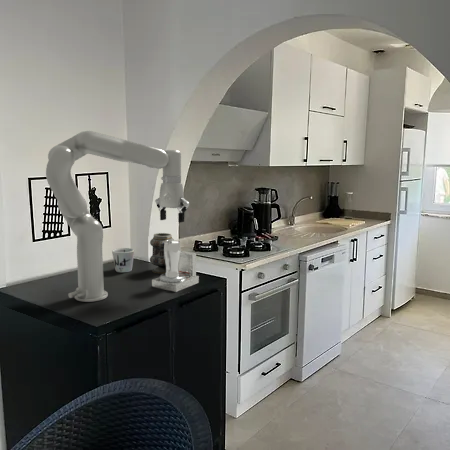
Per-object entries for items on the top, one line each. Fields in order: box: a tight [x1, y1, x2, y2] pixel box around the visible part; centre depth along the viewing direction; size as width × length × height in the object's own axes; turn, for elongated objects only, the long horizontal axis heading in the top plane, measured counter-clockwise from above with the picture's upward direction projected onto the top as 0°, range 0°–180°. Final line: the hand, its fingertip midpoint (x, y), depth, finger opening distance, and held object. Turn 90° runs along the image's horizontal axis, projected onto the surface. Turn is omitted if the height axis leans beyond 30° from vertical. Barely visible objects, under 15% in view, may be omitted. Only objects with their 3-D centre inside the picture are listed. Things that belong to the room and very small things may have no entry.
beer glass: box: [164, 239, 181, 278], centre depth 196 cm, size 7×7×15 cm
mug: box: [111, 247, 135, 273], centre depth 223 cm, size 10×15×10 cm
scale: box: [151, 250, 200, 293], centre depth 199 cm, size 16×13×13 cm
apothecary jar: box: [149, 232, 175, 275], centre depth 220 cm, size 12×12×18 cm
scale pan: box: [159, 273, 186, 282], centre depth 198 cm, size 12×11×1 cm
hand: (172, 220), depth 193 cm, fingers open, 9 cm apart
